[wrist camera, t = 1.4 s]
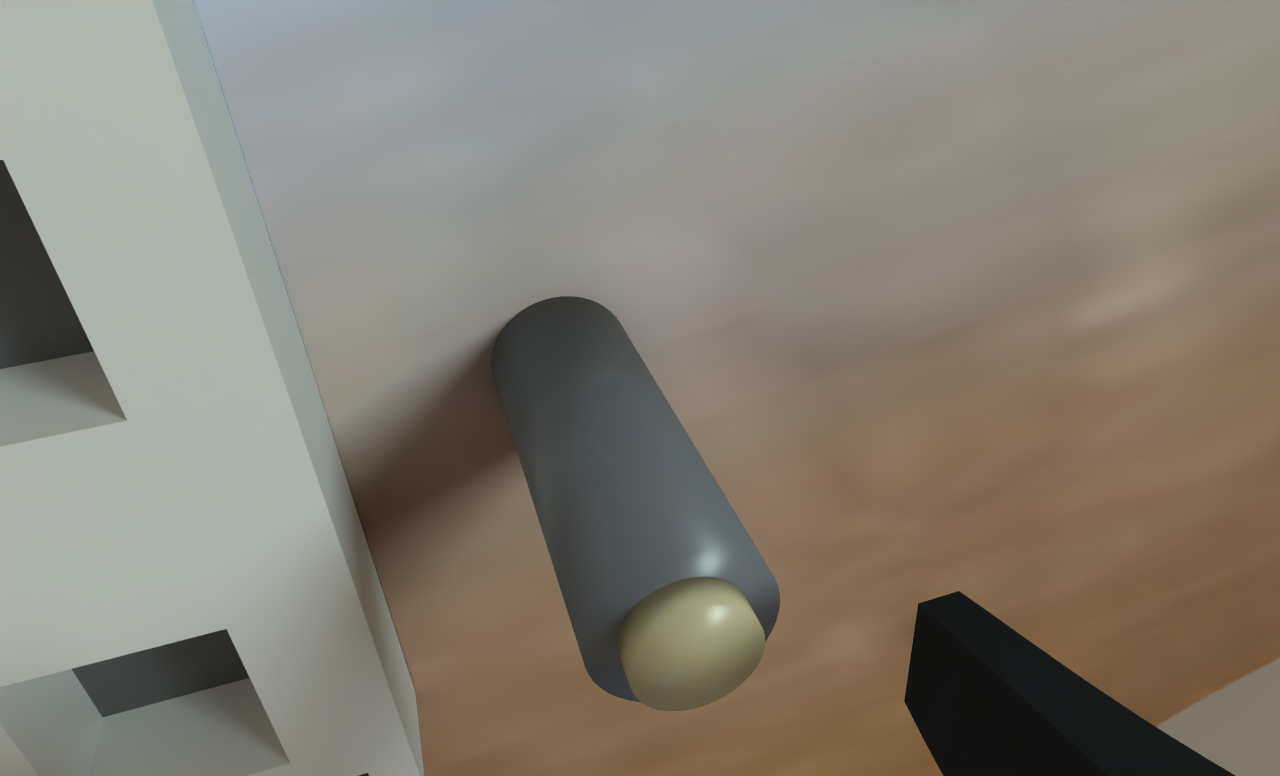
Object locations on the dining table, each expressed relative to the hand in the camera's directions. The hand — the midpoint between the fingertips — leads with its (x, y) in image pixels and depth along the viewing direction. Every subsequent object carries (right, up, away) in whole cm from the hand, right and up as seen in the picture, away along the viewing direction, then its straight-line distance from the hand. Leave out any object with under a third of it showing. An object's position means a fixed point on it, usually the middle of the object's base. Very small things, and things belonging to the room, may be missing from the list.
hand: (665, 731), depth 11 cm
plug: (-2, +5, +8) cm, 10 cm away
